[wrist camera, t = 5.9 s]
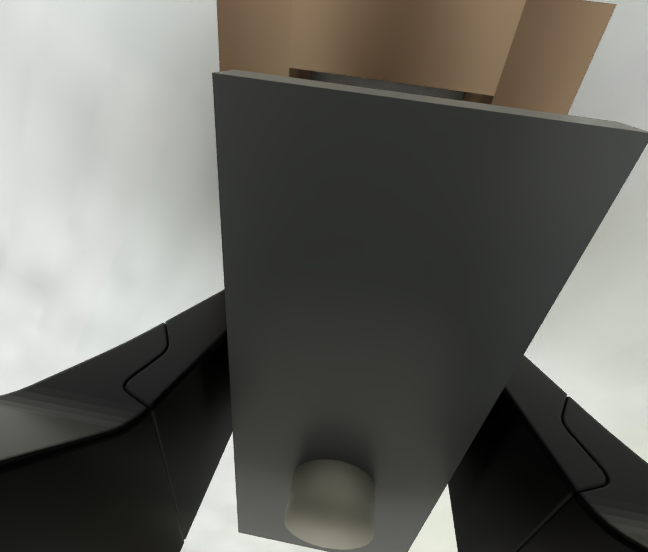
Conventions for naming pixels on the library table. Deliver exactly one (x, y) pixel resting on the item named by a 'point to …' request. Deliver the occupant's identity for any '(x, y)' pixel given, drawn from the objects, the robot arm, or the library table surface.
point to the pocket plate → (423, 44)
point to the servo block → (386, 287)
